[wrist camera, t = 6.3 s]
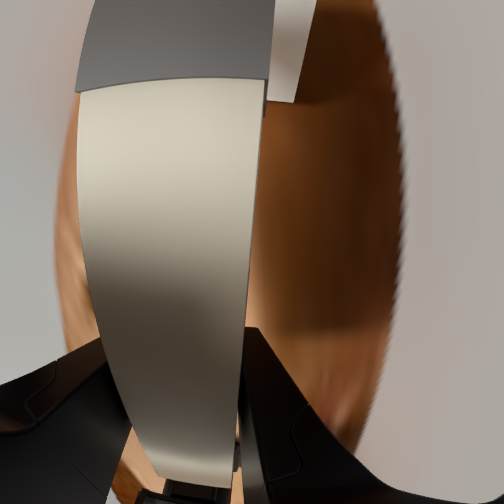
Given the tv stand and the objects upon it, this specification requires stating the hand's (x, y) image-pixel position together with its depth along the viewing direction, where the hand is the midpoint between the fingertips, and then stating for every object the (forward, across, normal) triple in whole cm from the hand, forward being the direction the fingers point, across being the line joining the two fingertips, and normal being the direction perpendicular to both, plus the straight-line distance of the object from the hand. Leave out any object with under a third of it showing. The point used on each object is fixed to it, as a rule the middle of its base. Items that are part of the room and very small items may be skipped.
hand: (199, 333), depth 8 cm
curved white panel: (+1, 0, -2) cm, 2 cm away
